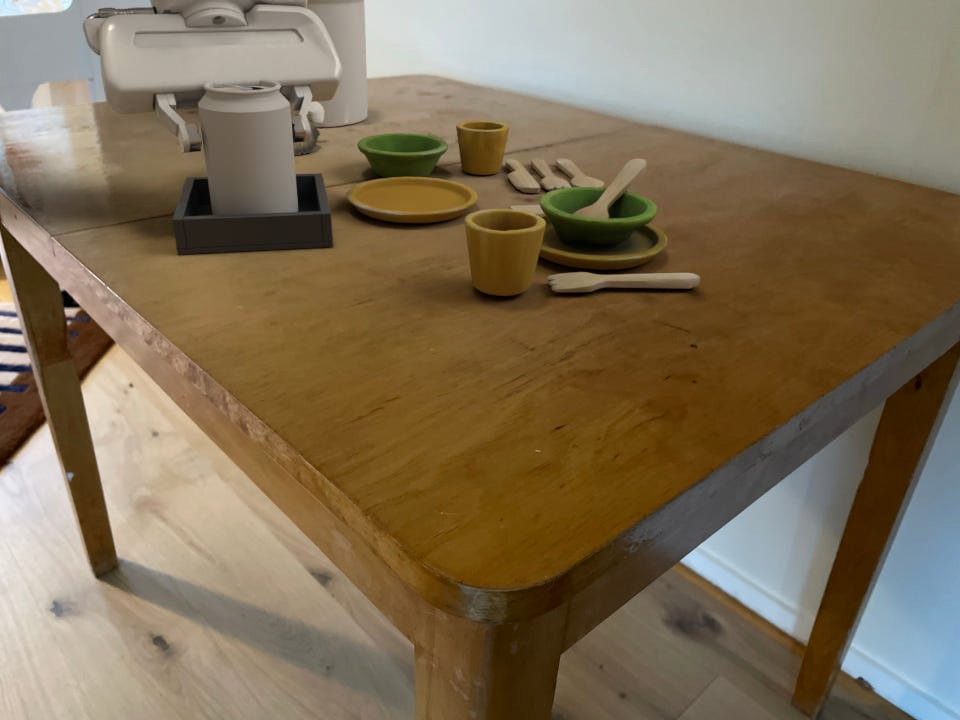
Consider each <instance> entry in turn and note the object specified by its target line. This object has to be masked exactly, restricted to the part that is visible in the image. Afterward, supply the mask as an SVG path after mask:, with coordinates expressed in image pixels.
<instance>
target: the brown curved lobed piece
mask: <svg viewBox="0 0 960 720" xmlns="http://www.w3.org/2000/svg"><path fill="white" fill-rule="evenodd" d="M290 110H291V116H298V115H299V112H300V110H299V111H294V110H293V109H292V106H291V103H290ZM324 114H325V112H324V109H323V106H322V105H321V104H320V103H318V102H311V104H310V107H309V111H308V114H307V119H308V122H309V125H310V128H311V136H310V139H309V141H308V142H297V143H293V148H294V156H300V155H302V154H303V155H306V154H307V153H311V152H313V150H314V149H315V148H316V147H317V143H318V139H319V137H320V136H321V135H320V131H319V130H318V127H315V126H314V125H313V123H318V124H320V123H323V121H324ZM311 122H312V123H311Z"/></svg>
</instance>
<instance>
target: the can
mask: <svg viewBox="0 0 960 720" xmlns="http://www.w3.org/2000/svg"><path fill="white" fill-rule="evenodd" d="M259 82H260V84H259V86H237V85H230V84H222V86H224V87H225V88H214V87H213V83H212V82H208V83H206V84H204V85H203V87H204V89H205V90H206V93H205V95H204V96H203V97H202V99H201V100H200V101H199V103H198V109H197V110H198V116H199V122H200V130H201V140H202V146H203V152H204V153H203V154H204V160H205V169H206V175H207V176H206V177H208V184H209V191H210V199H211V206H212V213H213V215H235V214H261V213H287V212H298V199H297V186H296V174H297V173H296V162H295V155H294V148H293V135H292V122H291V110H290V103H289V102H288V100H287V99H286V98H285V97H284V96H283V95H282V94H281V93H280V90H279V89H280V88H281V85H280V84H279V83H277V82H274V81H270V80H259ZM249 87H258V88H249Z"/></svg>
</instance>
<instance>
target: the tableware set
mask: <svg viewBox="0 0 960 720" xmlns="http://www.w3.org/2000/svg"><path fill="white" fill-rule="evenodd" d="M455 129H456V135H457V143H458V144H457V145H458V151H459V159H460V166H461V170H462V171H464V172H465V173H466V174H467V173H468V174H471V175H476V176H491V175H496V174H498V173H499V172H500V171H501V170H502V166H503V161H504V157H505V152H506V147H507V142H508V137H509V131H510V126H509V125H508V124H507V123H504V122H501V121H495V120H465V121H460V122H458V123H457V124H456V127H455ZM356 145H357V149H358V150H359V152H361V153H362V154H363V155H364V156H365V158H366V160H367V161H368V163H369V164H370V166H371V168H372V169H373V171H374V173H375V174H377V176H379V177H381V178H376V179H371V180H367V181H363V182H361V183H357V184H356V185H354V186H353V185H352V187H350V188H349V189H348V190H347V192H346V195H345V197H346V199H347V201H348V202H349V203H350V204H351V206H352V207H355V209H356V210H357V211H358V212H360V213H361V214H363V215H365V216H366V217H370V218H373V219H376V220H380V221H384V222H391V223H400V224H429V223H438V222H445V221H449V220H452V219H455V218H458V217H461V216H463V215H464V214H466V213H467V212H468V211H469V210H470V209H472V207H474V205H476V203H477V201H478V200H479V195H478V193H477V192H476V190H475V189H473V188H471V187H470V186H468V185H465V184H463V183H460V182H457V181H453V180H449V179H444V178H437V177H429V176H430V174H431V173H432V172H433V170H434V169H435V168H436V165H437V164H438V162H439V160H440V159H441V157H442V156H443V155H444V154H446V152H447V151H448V149H449V144H448V142H446V141H445V140H443V139H442V138H438V137H435V136H431V135H425V134H418V133H403V132H402V133H400V132H399V133H397V132H395V133H394V132H393V133H382V134H375V135H370V136H367V137H363V138H362V139H360V140H358V142H357V144H356ZM556 164H557V165H556ZM530 166H531V167H532V168H533V169H534V170H535V172H536V173H537V174H538V175H539V176H540V177H541V180H540V182H539V183H540V184H539V183H538V182H537V180H536V179H534V177H533V176H532V175H531V174H530V173H529V172H528V170H527V169H526V168H525V167H524V166H523V165H522V164H521V162H520V161H518V160H517V159H512V158H508V159H506V160H505V167H506V168H507V169H508V170H509V171H510V172H509V173H508V174H507V178H508V180H509V181H510V183H511V184H512V186H514V187H515V188H516V189H517V190H518V191H520V192H522V193H524V194H525V193H526V194H539V193H540V192H541V188H542V189H544V190H546V191H548V192H545V194H543V195H541V197H540V199H539V204H522V205H521V204H520V205H519V204H518V205H510V206H509V208H487V209H480V210H477V211H473V212H471V213H469V214H467V215H466V216H465V217H464V221H463V222H464V228H465V237H466V245H467V252H468V261H469V269H470V277H471V284H472V286H473V287H474V288H475V289H476V290H478V291H479V292H481V293H484V294H488V295H490V296H491V295H492V296H497V297H511V296H517V295H520V294H523V293H525V292H526V291H529V290H530V288H531V286H532V285H533V280H534V277H535V274H536V269H537V265H538V260H539V257H540V258H542V259H545V260H547V261H549V262H552V263H555V264H559V265H562V266H566V267H571V268H578V269H586V270H597V271H598V270H600V271H602V270H603V271H612V270H624V269H629V268H630V269H631V268H634V267H639V266H641V265H644V264H646V263H648V262H650V261H651V260H653V258H654V257H656V256H658V255H659V254H660V253H662V252H663V251H664V249H665V248H666V247H667V245H668V237H667V236H666V233H664V232H663V231H662V230H661V229H659V228H658V227H656V226H655V225H654V224H651V222H652V221H653V220H654V218H655V217H656V216H657V214H658V211H659V209H658V206H657V205H656V204H655V203H654V202H653V201H652V200H650V199H649V198H647V197H644V196H643V195H640V194H638V193H634V192H631V191H628V190H629V189H630V187H631V186H632V185H633V184H634V183H636V182H637V181H638V180H639V179H640V178H641V177H642V176H643V175H644V173H645V172H646V170H647V166H648V165H647V160H645V159H644V158H640V157H639V158H638V157H637V158H632V159H630V160H628V162H627V163H626V164H624V166H623V167H622V168H621V170H620V171H619V172H618V174H617V175H616V176H615V178H614V179H613V180H612V181H611V182H610V184H609V185H608V187H604V186H605V183H604V181H602V180H601V179H599V178H595V177H591V176H589V175H588V176H587V175H585V173H583V172H582V171H581V170H580V168H579V167H578V166H577V165H575V163H574V162H573V161H572V160H571V159H570V158H569V159H568V158H556V159H555V167H556V168H557V169H558V170H560V171H561V172H563V174H565V175H566V176H567V177H569V178H570V182H568V180H566V179H564V178H560V177H558V176H556V175H555V174H554V173H553V171H552V170H551V168H550V167H549V165H548V163H547V162H546V160H544V159H543V158H531V159H530ZM561 168H562V169H561ZM565 171H566V172H567V173H566V172H565ZM546 280H547V282H548V283H549V286H550V287H551V290H552V291H553V292H554V293H592V292H594V291H597V290H600V289H607V288H610V289H611V288H615V289H617V288H619V289H621V288H622V289H678V290H679V289H680V290H681V289H684V290H685V289H686V290H687V289H692V288H693V289H694V288H695V287H697V286H699V285H700V281H701V277H700V275H698V274H696V273H694V272H661V273H659V272H658V273H656V272H655V273H624V274H623V273H621V274H597V273H592V272H588V271H577V272H575V271H574V272H562V273H557V274H556V273H555V274H550V275H547V277H546Z"/></svg>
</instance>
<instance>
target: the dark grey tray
mask: <svg viewBox="0 0 960 720" xmlns="http://www.w3.org/2000/svg"><path fill="white" fill-rule="evenodd" d="M324 180H325V179H324V176H323V173H319V172H318V173H296V186H297V199H298V212H287V213H261V214H235V215H213V213H212V206H211V199H210V191H209V184H208V176H187V177H186V178H185V180H184V183H183V186H182V188H181V191H180V196H179V198H178V201H177V204H176V207H175V210H174V213H173V217H172V220H171V222H172V228H173V233H174V234H173V235H174V240H175V247H176V252H177V255H178V256H179V255H197V254H198V255H200V254H219V253H239V252H258V251H259V252H261V251H279V250H280V251H281V250H297V249H298V250H300V249H301V250H302V249H321V248H333V247H334V245H333V244H334V241H333V240H334V239H333V226H332V225H333V224H332V211H331V208H330V204H329V198H328V194H327V189H326V184H325V181H324Z"/></svg>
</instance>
